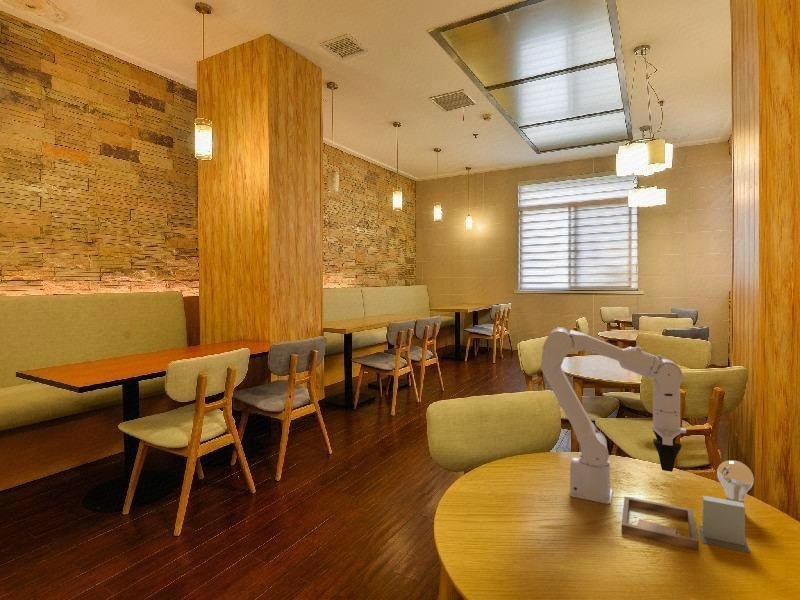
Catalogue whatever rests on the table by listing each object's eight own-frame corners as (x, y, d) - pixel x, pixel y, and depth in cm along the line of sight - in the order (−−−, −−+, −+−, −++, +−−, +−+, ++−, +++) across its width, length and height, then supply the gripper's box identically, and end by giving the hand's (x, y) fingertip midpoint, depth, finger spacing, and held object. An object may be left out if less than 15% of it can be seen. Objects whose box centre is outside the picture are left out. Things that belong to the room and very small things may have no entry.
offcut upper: (636, 530, 98) (636, 526, 98) (639, 523, 100) (639, 519, 100) (674, 541, 93) (674, 537, 93) (676, 533, 96) (676, 529, 96)
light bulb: (760, 519, 101) (760, 468, 100) (725, 517, 102) (726, 466, 102) (743, 504, 108) (743, 456, 107) (711, 502, 109) (711, 454, 108)
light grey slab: (703, 536, 95) (703, 500, 94) (702, 531, 96) (702, 495, 96) (744, 545, 91) (744, 507, 91) (742, 539, 93) (743, 502, 93)
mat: (702, 543, 93) (702, 541, 93) (699, 526, 99) (699, 525, 99) (750, 553, 89) (750, 552, 89) (743, 535, 95) (743, 534, 95)
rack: (621, 533, 97) (621, 524, 97) (624, 504, 109) (624, 496, 109) (698, 551, 90) (698, 541, 90) (692, 517, 102) (692, 509, 102)
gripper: (688, 420, 99) (688, 479, 100) (683, 403, 112) (683, 456, 112) (652, 416, 102) (652, 473, 103) (651, 400, 115) (651, 451, 116)
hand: (666, 464), depth 108 cm, fingers open, 7 cm apart
